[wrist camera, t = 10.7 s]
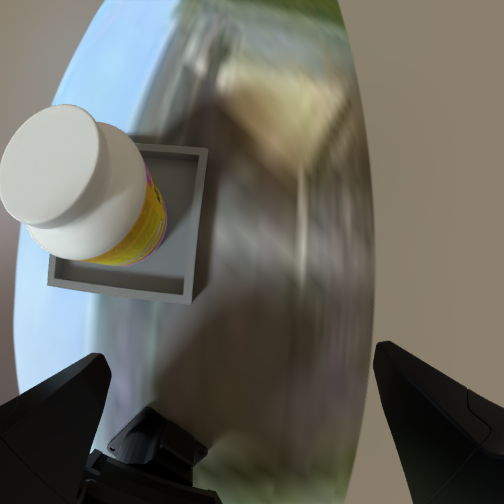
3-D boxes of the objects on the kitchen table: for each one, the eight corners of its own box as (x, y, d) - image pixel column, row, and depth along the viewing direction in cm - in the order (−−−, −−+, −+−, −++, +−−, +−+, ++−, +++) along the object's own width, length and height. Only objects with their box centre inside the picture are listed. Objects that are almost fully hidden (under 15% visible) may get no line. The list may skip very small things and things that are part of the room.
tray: (192, 302, 22) (191, 304, 20) (57, 284, 20) (47, 285, 18) (208, 157, 22) (208, 148, 21) (79, 150, 21) (71, 141, 19)
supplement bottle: (186, 217, 21) (169, 143, 9) (128, 285, 20) (39, 297, 8) (126, 162, 21) (66, 60, 8) (71, 226, 20) (-37, 180, 7)
